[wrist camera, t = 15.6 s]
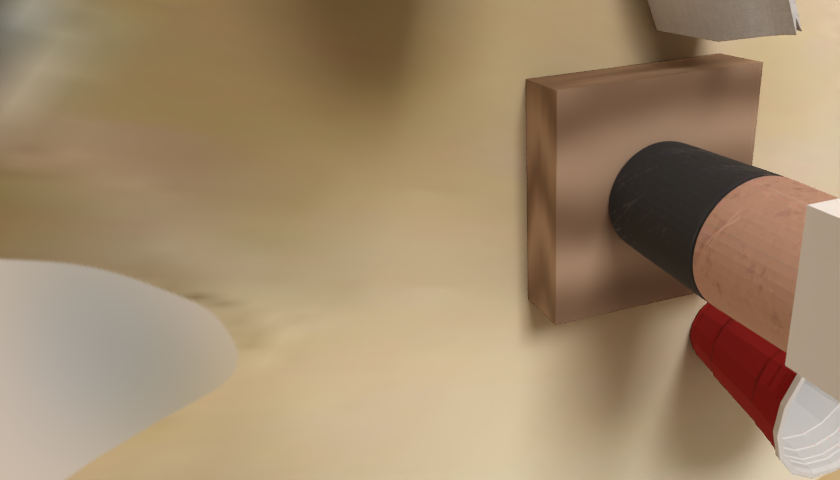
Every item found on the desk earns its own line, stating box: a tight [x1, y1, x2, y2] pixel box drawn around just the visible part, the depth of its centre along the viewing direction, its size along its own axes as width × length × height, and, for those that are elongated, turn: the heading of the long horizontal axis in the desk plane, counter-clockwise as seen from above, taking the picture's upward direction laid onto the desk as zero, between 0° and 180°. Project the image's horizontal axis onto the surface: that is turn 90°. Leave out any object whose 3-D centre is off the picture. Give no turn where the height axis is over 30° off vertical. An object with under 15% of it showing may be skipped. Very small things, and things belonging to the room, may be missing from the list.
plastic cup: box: [690, 303, 840, 478], centre depth 54 cm, size 11×11×12 cm
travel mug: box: [609, 141, 839, 353], centre depth 40 cm, size 8×8×20 cm
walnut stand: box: [526, 54, 763, 325], centre depth 50 cm, size 15×14×4 cm
